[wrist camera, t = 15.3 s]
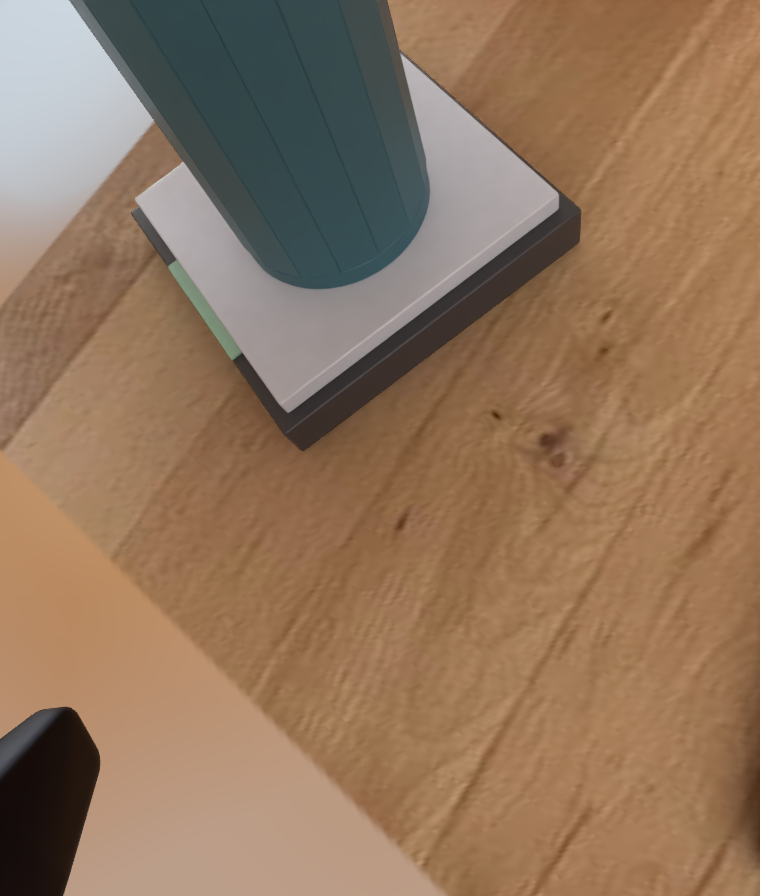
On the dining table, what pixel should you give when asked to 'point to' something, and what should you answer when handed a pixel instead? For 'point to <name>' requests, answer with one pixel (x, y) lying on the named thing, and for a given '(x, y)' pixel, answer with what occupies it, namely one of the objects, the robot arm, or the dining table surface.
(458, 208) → the scale
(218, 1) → the jar
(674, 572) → the dining table surface
